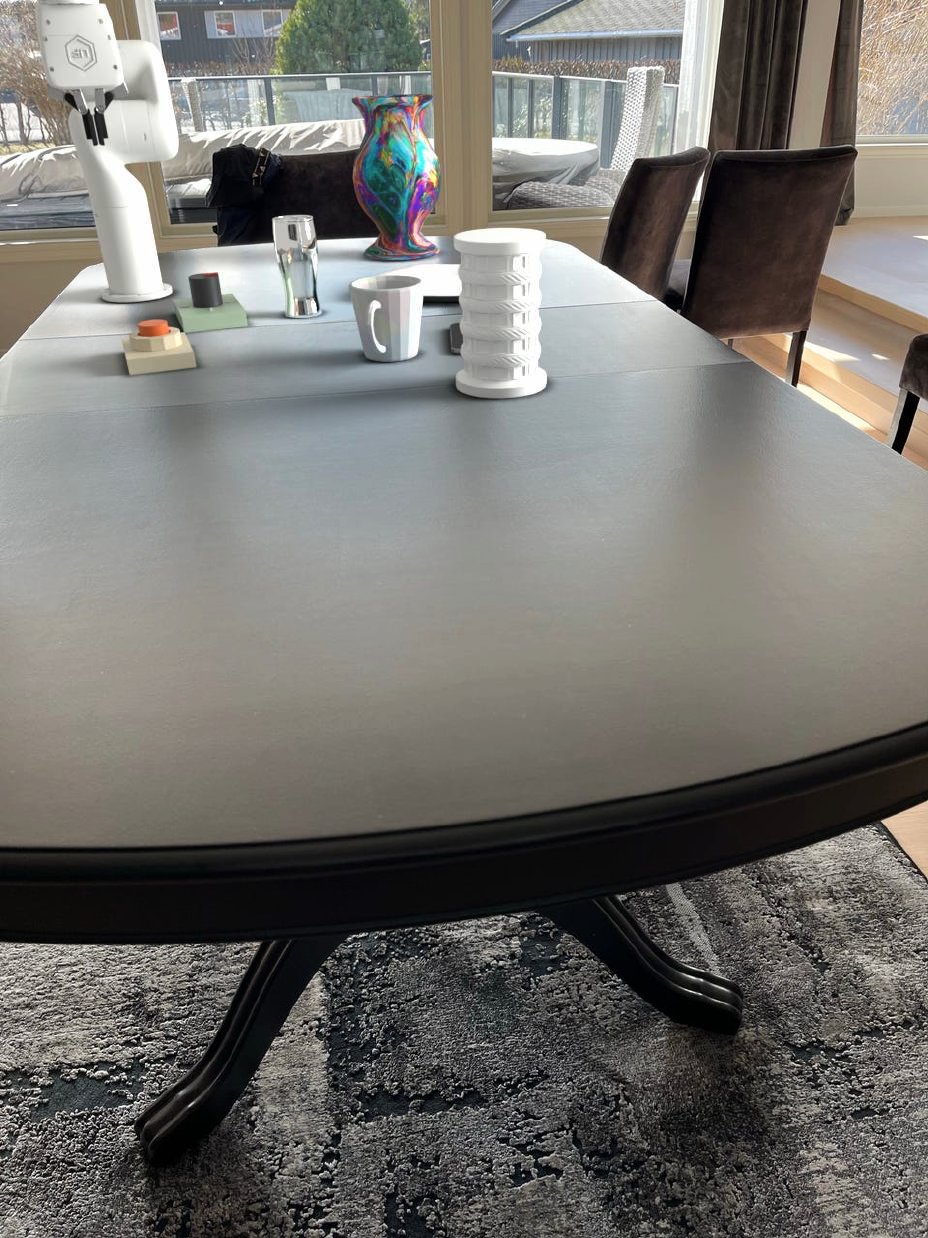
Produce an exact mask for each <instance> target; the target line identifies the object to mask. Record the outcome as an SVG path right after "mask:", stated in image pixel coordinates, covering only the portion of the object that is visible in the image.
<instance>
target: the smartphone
mask: <svg viewBox="0 0 928 1238" xmlns="http://www.w3.org/2000/svg"><path fill="white" fill-rule="evenodd" d="M449 335H450V351H451V353H454V354H461V353H460V352H461V346H462V344H463V334H462V333H461V330H460V322H454V323H451V324H450V325H449Z"/></svg>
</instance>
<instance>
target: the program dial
mask: <svg viewBox="0 0 928 1238" xmlns="http://www.w3.org/2000/svg"><path fill="white" fill-rule="evenodd" d="M187 279H188V284H189V290H190V295H191V298H192V302H193V306H194V307H199V308H207V307H215V306H219V305H221V304H223V300H222V295H223V294H222V288H221V283H220V282H221V281H220V276H219V272H202V273H194V274H191V275H189V276H188V278H187Z"/></svg>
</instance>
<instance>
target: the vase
mask: <svg viewBox="0 0 928 1238" xmlns="http://www.w3.org/2000/svg"><path fill="white" fill-rule="evenodd" d="M350 99H351V103H352V104H353V105H354V106H355V107H356V108H357V110H358V111H359V112H360V114H361V116H362V118H363V121H364V122H363V123H364V129H365V130H364V131H365V132H364V134H363V137H362V140H361V143H360V146H359V148H358V150H357V153H356V155H355V157H354V160H353V167H352V168H353V169H352V182H353V187H354V193H355V195H356V199H357V201H358V203H359V205H360V207H361V208H362V210H363V211H364V213H365V214H366V215H367V216H368V217H369V218H370V220H372V221H373V223H374V224H375V225H376V228H377V229H378V232H380V233H379V234H378V235H377V236H378V237H377V238H376V240H375V241H374V242H373V243H372V244H370V245H369V246H368V247H367V248H366V249H365V250H364V251H363V253H362V255H363V257H366V258H370V259H373V260H384V261H402V260H403V261H404V260H405V261H407V260H416V259H417V260H418V259H423V258H428V257H432V256H435V255H437V254H439V253H440V252H441V250H440V248H438V246H436V244H434V243H433V242H431V241H430V240H428V239H427V238H426V237H425V236H424V234H423V233H422V231H421V230H422V228H423V226H424V224H425V221H426V220H427V218H428V217H429V215H430V214H431V212H433V210H434V208H435V207H436V204H437V202H438V200H439V199H440V198H439V197H440V192H441V188H442V171H441V166H440V165H441V164H440V161H439V157H438V155H437V153H436V151H435V150H434V148H433V146H432V144H431V143H430V141H429V138H428V137H427V135H426V133H425V131H424V116H425V113H426V111H427V108H428V107H429V105H430V104H431V103H432V102H433V99H434V95H432V94H428V93H412V94H411V93H410V94H409V93H407V94H405V93H404V94H402V93H401V94H381V95H380V94H377V95H376V94H375V95H361V96H352V97H351V98H350Z"/></svg>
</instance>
